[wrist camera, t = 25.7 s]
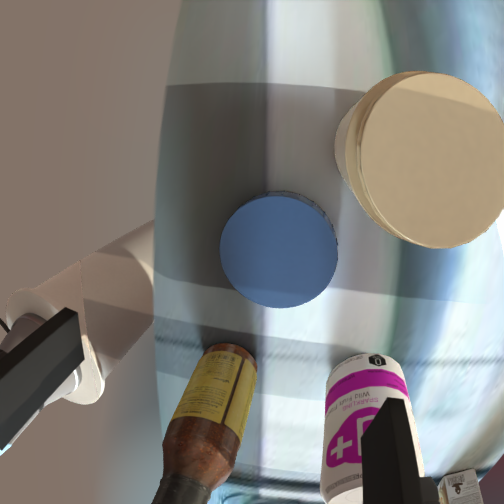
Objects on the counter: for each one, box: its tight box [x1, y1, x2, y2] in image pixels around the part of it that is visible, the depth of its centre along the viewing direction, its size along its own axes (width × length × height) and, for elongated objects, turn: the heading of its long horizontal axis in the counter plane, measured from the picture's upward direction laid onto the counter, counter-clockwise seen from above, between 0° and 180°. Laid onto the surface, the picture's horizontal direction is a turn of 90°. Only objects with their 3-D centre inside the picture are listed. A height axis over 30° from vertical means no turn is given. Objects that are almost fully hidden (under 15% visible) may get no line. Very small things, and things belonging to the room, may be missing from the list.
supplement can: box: [320, 353, 425, 504], centre depth 23 cm, size 8×8×15 cm
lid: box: [219, 191, 338, 308], centre depth 26 cm, size 10×10×2 cm
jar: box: [334, 71, 504, 248], centre depth 17 cm, size 9×9×12 cm
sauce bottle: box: [151, 343, 257, 504], centre depth 23 cm, size 6×6×20 cm
